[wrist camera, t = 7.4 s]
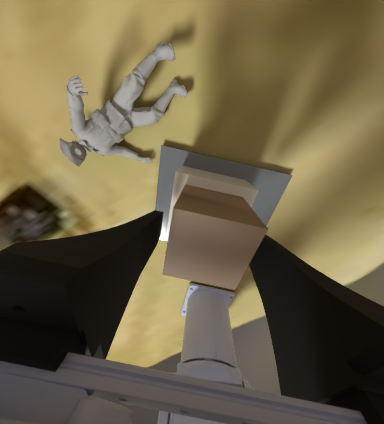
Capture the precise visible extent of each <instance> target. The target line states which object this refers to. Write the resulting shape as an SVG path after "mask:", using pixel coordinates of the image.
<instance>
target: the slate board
mask: <svg viewBox="0 0 384 424" xmlns="http://www.w3.org/2000/svg"><path fill="white" fill-rule="evenodd" d="M182 166H186V167H190V168H195V169H199V170H204V171H208V172H212V173H217V174H221V175H226V176H230V177H234V178H239V179H243V180H246V181H247V182H249V183H250V184H251V185H253V186H254V187H255V188H256V189H258V190H259V191H258V193H257V196H256V198H255V200H254V202H253V205H252V207H251V208H252V209H253V211H254V212H255V213H256V214H257V216H258V217H259V218H260V219H261V221H262V222H263V223H264V224H265V226H266V225H267V223H268V221H269V219H270V217H271V215H272V213H273V211H274V209H275V208H276V206H277V204H278V202H279V200H280V198H281V196H282V194H283V192H284V191H285V189H286V187H287V185H288V183H289V181H290V179H291V177H292V175H289V174H285V173H281V172H276V171H272V170H268V169H263V168H259V167H255V166H250V165H246V164H242V163H237V162H233V161H229V160H224V159H220V158H215V157H211V156H207V155H202V154H198V153H194V152H189V151H185V150H181V149H176V148H172V147H167V146H163V145H161V154H160V165H159V176H158V186H157V197H156V207H155V210H157V211H161V212H164V214H163V222H162V229H161V235H160V238H159V239H160V240H164V241H168V240H166V233H167V226H168V219H169V212H170V206H171V199H172V192H173V185H174V178H175V172H176V171H177V170H178V169H179V168H180V167H182Z"/></svg>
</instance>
